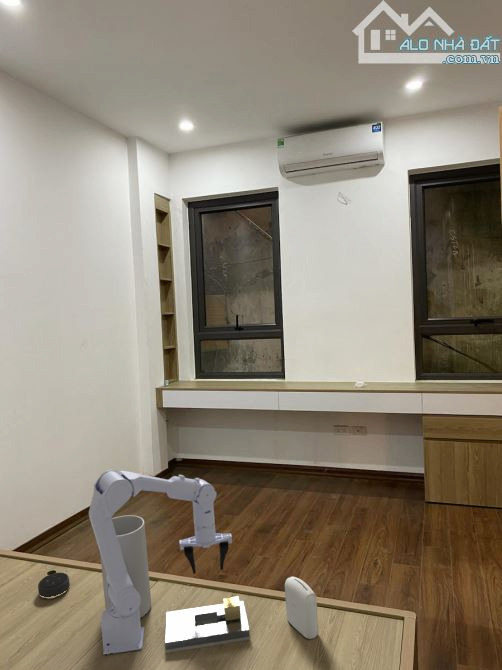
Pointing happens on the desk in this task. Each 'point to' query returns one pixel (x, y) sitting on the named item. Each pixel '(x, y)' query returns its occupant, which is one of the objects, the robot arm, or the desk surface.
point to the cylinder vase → (132, 558)
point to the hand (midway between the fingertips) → (208, 569)
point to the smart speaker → (53, 584)
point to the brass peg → (232, 608)
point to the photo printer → (301, 607)
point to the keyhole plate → (203, 628)
